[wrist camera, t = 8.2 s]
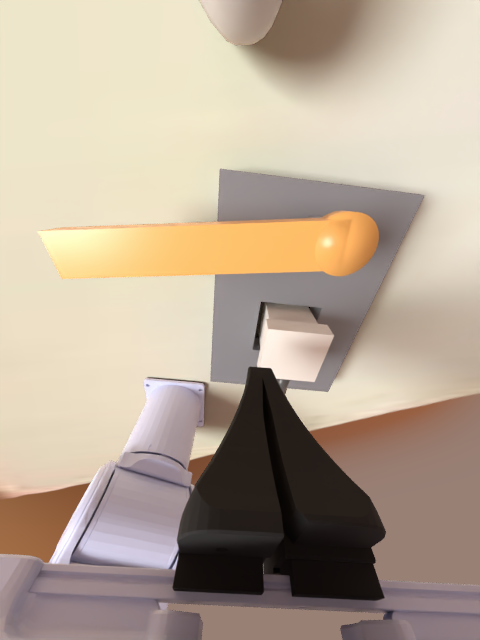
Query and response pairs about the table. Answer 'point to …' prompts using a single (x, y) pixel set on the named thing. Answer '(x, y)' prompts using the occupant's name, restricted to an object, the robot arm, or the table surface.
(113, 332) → the table surface
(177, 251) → the orange paddle handle
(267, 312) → the plug
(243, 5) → the donut
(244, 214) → the socket block
